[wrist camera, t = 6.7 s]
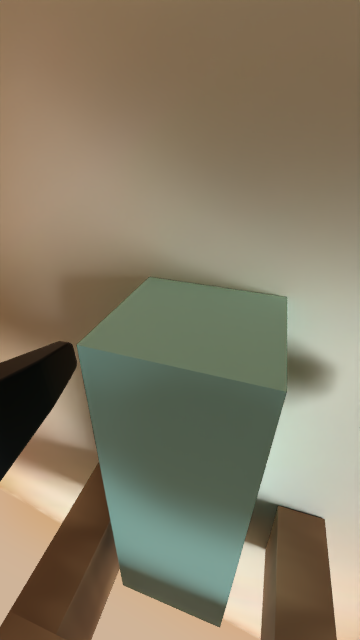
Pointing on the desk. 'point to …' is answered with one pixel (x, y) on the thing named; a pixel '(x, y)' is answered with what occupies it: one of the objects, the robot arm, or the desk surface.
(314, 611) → the brown u-shaped block
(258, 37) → the desk surface
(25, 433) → the robot arm
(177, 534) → the green rectangular block
